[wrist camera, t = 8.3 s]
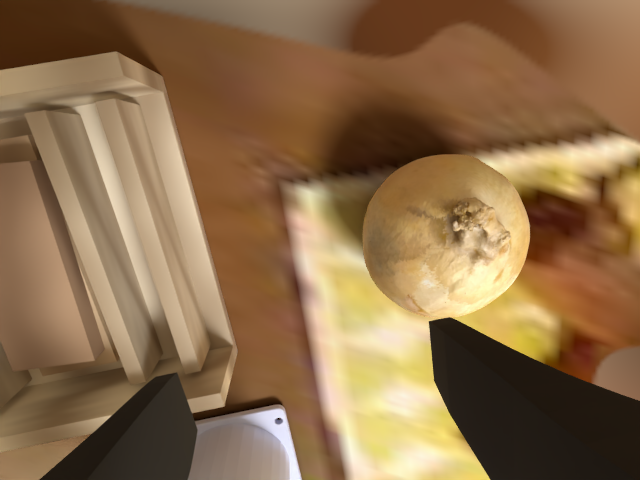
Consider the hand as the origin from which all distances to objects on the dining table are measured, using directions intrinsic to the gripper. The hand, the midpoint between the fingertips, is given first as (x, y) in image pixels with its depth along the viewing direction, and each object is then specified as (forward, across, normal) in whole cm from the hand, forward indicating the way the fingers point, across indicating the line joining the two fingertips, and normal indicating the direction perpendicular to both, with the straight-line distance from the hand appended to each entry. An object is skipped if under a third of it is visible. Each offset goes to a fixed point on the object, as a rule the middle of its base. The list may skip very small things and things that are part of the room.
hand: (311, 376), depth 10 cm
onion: (+11, -7, 0) cm, 13 cm away
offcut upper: (+9, +13, -3) cm, 16 cm away
